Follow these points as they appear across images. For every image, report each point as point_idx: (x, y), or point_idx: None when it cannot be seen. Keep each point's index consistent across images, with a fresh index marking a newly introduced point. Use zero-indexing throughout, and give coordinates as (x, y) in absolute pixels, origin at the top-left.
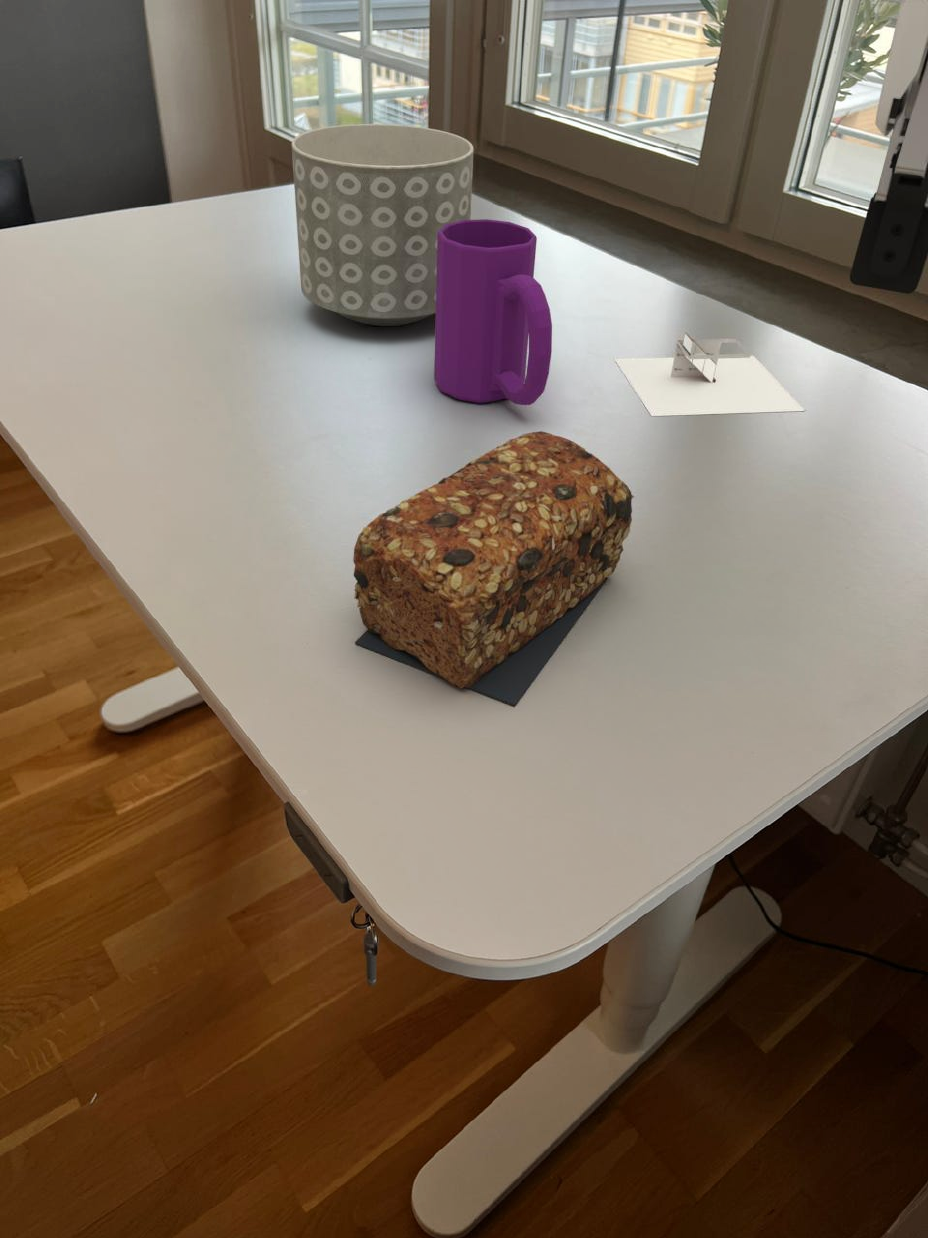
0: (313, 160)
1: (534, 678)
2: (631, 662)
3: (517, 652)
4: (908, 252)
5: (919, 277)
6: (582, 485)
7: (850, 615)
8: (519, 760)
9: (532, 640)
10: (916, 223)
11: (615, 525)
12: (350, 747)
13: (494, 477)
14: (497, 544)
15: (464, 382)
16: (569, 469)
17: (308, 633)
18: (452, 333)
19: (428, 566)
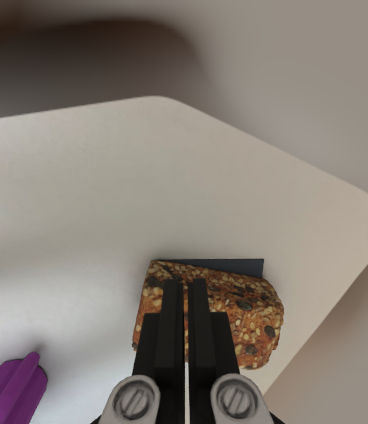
0: None
1: (243, 259)
2: (210, 228)
3: (231, 271)
4: (230, 331)
5: (205, 287)
6: None
7: (109, 142)
8: (292, 245)
9: (220, 269)
10: (238, 368)
11: (163, 280)
12: (310, 297)
13: None
14: (251, 323)
15: (41, 385)
16: None
17: None
18: (28, 420)
19: (276, 337)
